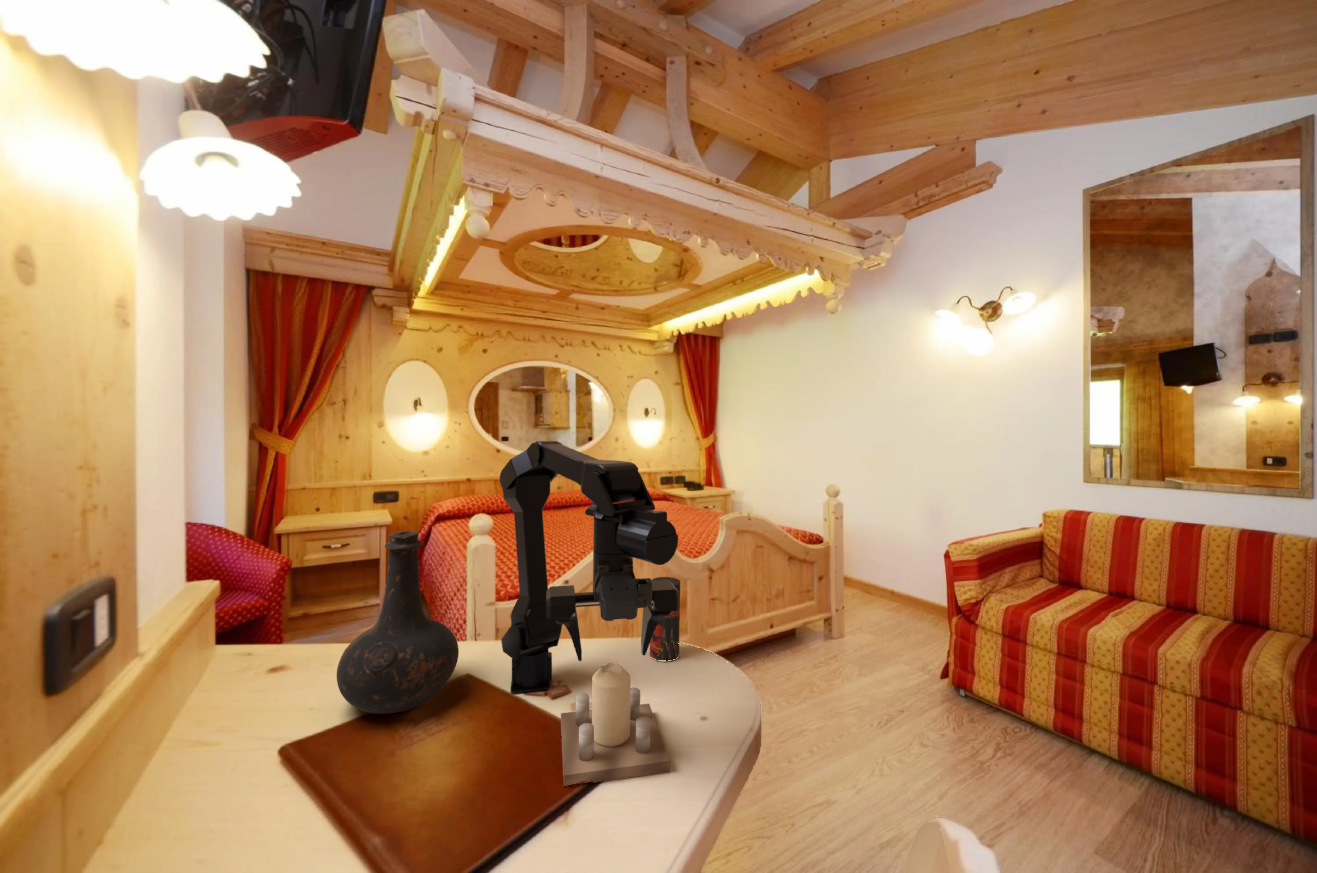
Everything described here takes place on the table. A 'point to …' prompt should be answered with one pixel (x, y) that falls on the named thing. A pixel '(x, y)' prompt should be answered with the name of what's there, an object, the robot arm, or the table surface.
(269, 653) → the table surface
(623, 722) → the candle
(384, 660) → the glass bottle
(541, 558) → the robot arm
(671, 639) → the deodorant
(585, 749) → the peg holder
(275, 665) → the table surface
